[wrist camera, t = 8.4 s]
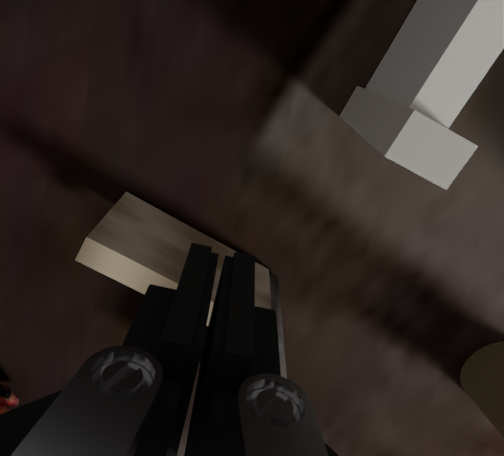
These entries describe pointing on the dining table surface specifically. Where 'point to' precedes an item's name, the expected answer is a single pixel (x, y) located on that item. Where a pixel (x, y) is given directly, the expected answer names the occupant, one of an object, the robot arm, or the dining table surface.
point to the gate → (160, 253)
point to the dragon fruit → (7, 398)
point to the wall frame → (427, 88)
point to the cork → (486, 382)
